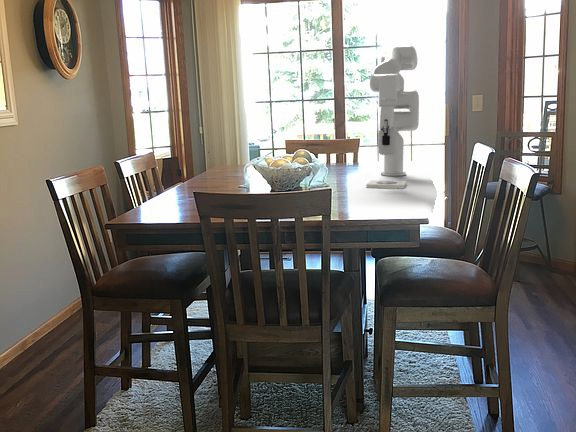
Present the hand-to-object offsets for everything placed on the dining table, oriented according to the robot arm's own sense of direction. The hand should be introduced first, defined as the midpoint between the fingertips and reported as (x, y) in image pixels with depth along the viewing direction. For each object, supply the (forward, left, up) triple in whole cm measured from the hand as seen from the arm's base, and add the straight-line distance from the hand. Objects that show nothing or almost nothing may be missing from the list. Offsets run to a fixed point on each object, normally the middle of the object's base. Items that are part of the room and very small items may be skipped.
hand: (387, 144), depth 268 cm
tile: (0, 0, -19) cm, 19 cm away
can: (0, 0, -5) cm, 5 cm away
